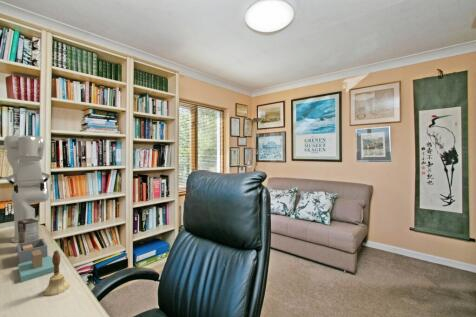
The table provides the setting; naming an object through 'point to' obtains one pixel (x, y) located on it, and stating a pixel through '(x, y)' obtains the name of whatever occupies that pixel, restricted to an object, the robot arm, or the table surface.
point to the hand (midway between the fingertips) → (29, 191)
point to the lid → (35, 266)
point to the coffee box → (28, 230)
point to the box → (31, 249)
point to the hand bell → (56, 278)
